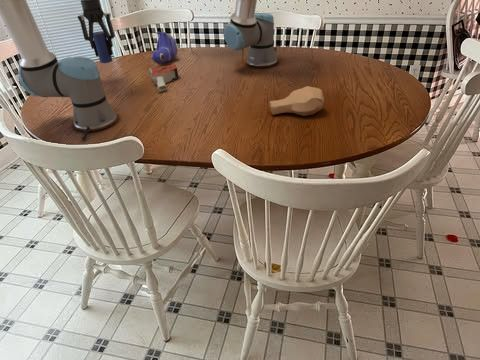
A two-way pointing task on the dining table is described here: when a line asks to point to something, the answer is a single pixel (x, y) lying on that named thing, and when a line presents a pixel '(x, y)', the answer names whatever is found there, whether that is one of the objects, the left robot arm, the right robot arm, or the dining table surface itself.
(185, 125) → the dining table surface
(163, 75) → the tape dispenser
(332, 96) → the dining table surface
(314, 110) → the squash
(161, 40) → the toy
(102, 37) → the can
